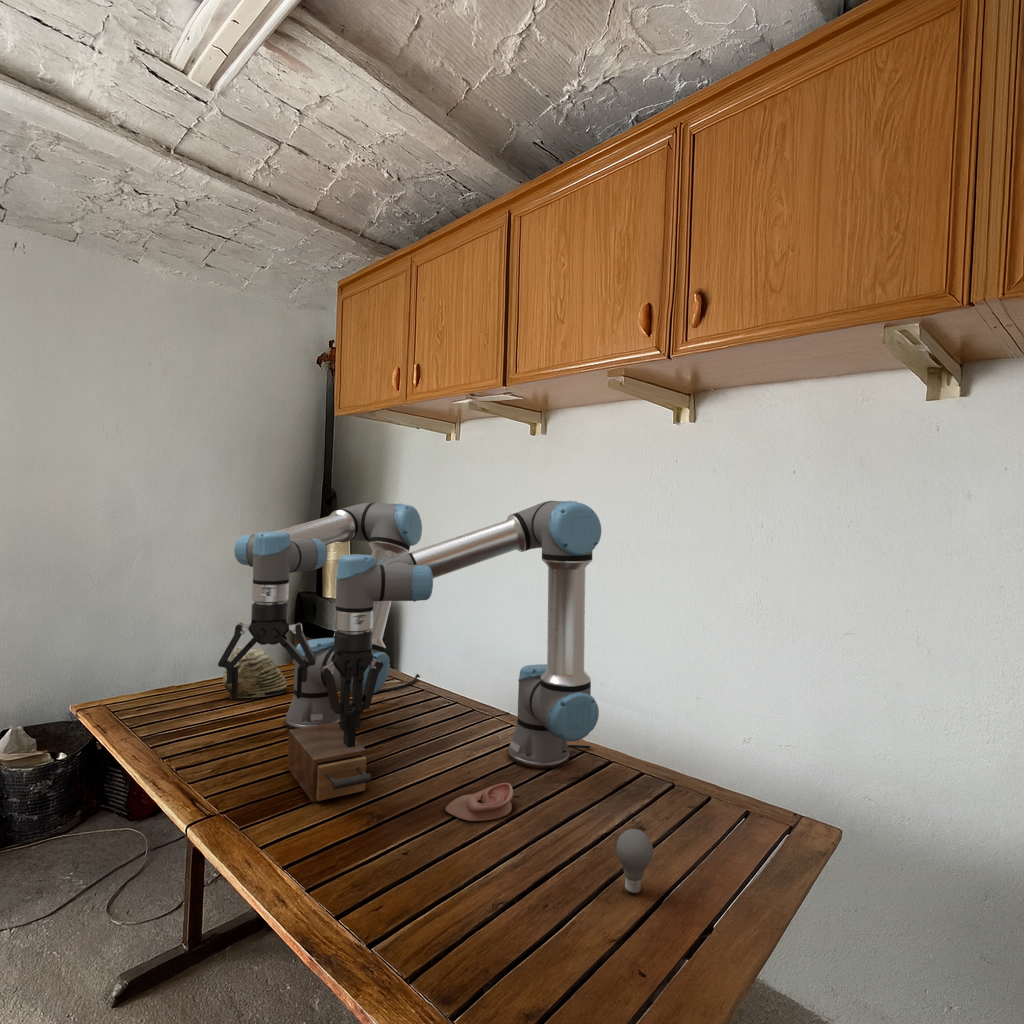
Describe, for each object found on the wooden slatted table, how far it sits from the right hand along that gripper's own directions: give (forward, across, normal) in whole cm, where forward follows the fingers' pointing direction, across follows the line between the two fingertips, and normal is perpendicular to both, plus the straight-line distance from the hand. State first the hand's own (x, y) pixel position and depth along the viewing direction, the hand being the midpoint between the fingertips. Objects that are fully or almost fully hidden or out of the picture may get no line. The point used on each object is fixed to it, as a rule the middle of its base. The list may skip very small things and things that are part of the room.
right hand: (349, 744), depth 130 cm
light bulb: (+13, +31, -51) cm, 61 cm away
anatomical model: (+13, +23, -14) cm, 30 cm away
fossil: (+13, 0, +82) cm, 83 cm away
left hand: (-5, -12, +21) cm, 24 cm away
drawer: (+12, 0, +9) cm, 15 cm away
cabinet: (+13, 0, +14) cm, 19 cm away
